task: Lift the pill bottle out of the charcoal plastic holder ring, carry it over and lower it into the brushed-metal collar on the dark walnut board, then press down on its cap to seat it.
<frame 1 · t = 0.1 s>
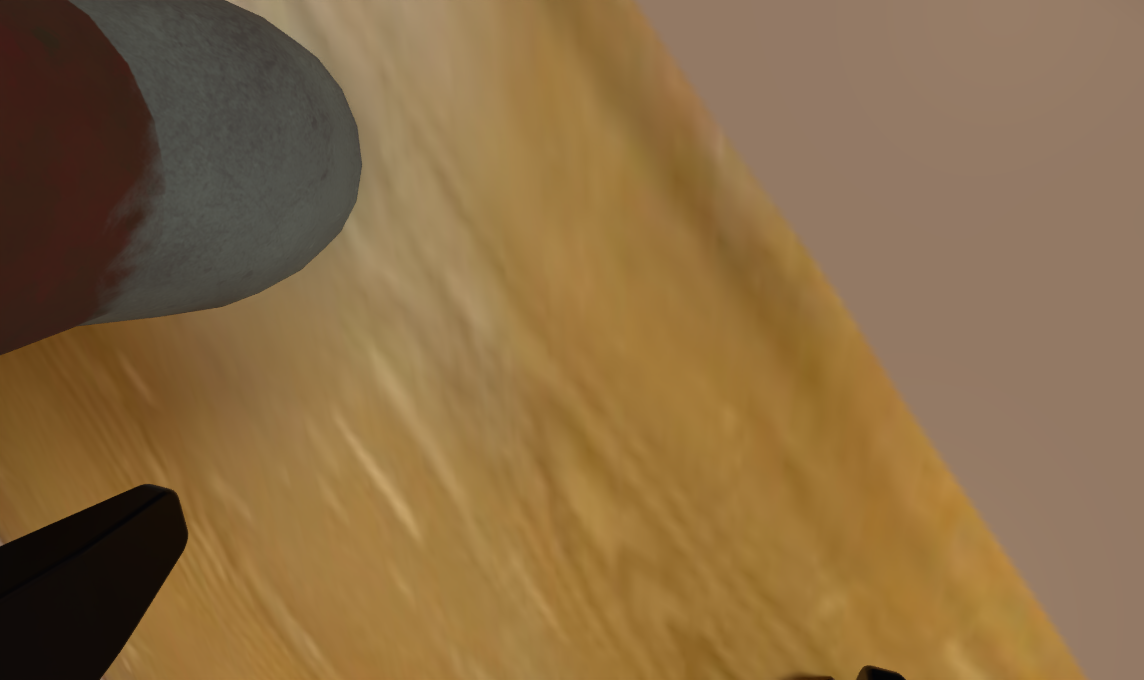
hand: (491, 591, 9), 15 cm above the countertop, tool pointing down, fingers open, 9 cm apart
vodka: (260, 150, 25), on the countertop
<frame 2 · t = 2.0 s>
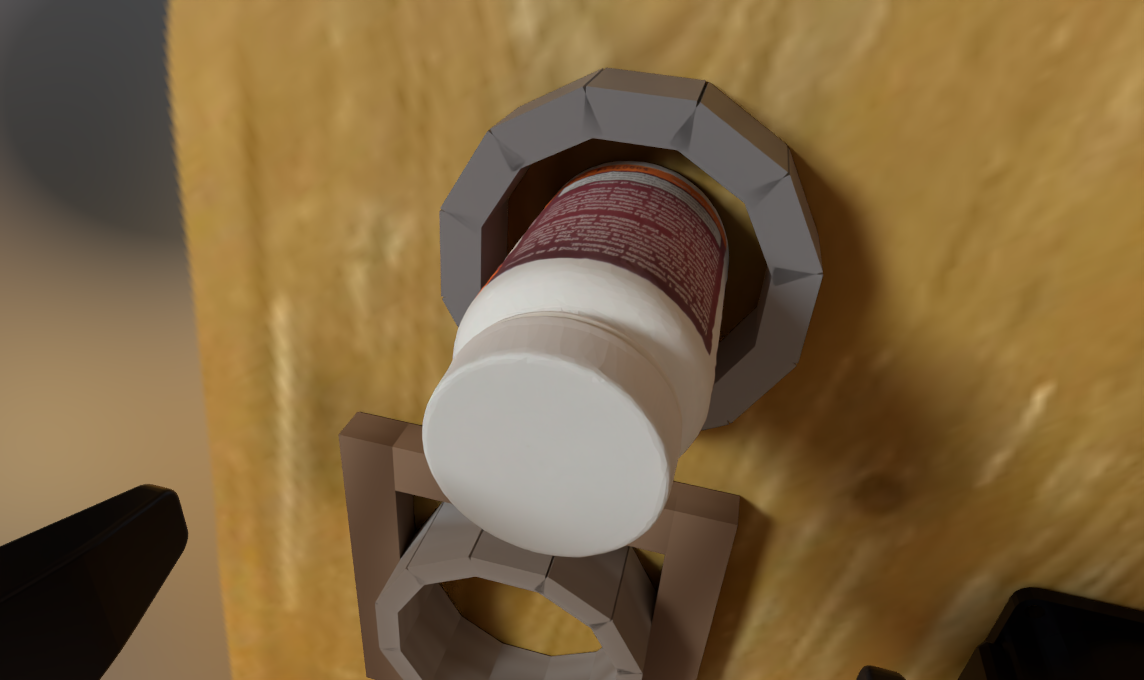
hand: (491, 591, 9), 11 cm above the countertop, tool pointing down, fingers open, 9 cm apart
holder: (632, 251, 18), on the countertop
pill bottle: (634, 248, 18), resting in holder
socket board: (531, 586, 25), on the countertop
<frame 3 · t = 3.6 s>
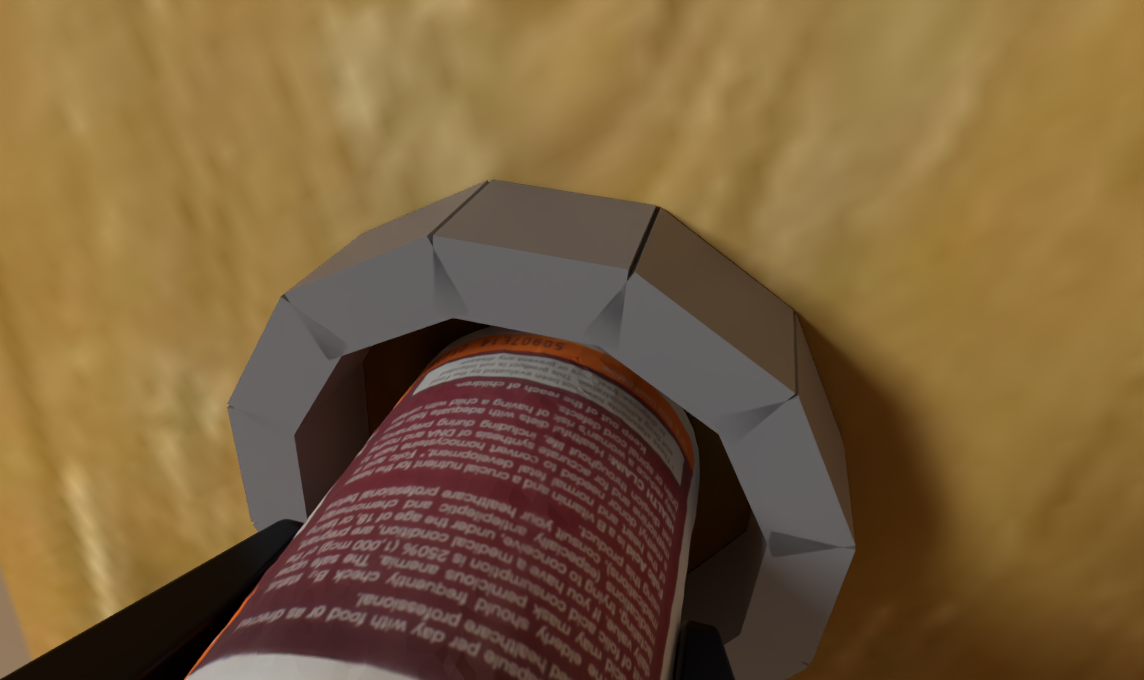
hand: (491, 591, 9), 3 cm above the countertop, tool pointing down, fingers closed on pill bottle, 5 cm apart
holder: (553, 445, 12), on the countertop
pill bottle: (556, 437, 12), resting in holder, touching gripper
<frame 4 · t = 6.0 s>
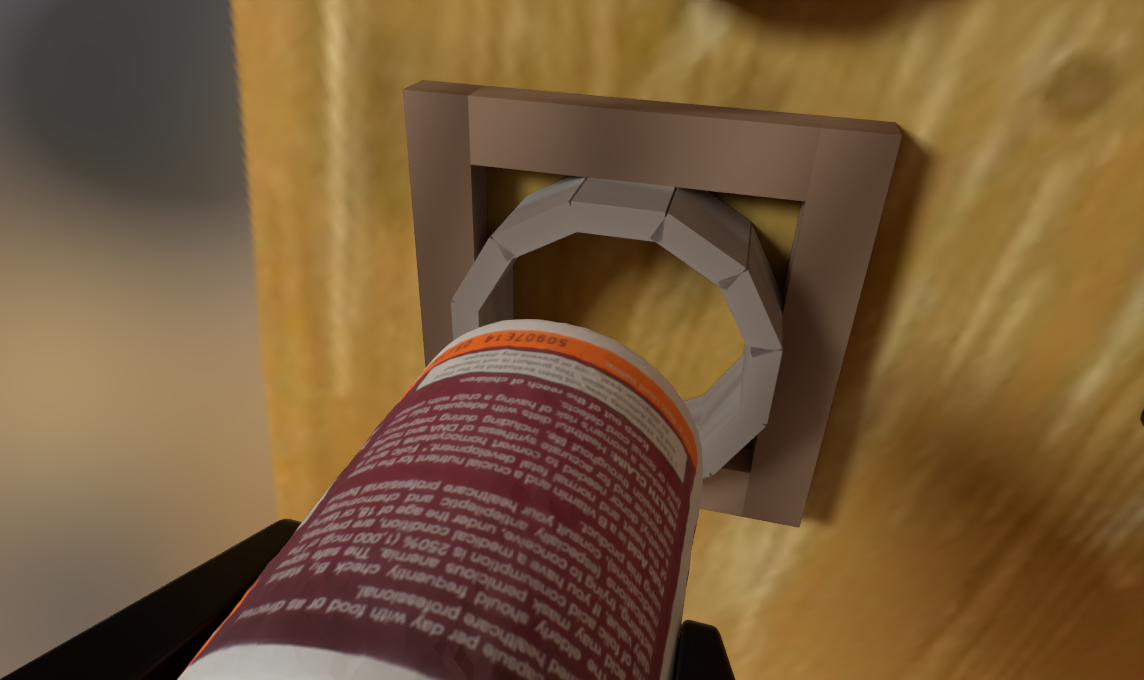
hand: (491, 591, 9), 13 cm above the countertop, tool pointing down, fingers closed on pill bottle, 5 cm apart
pill bottle: (560, 434, 12), point 10 cm above the countertop, touching gripper
socket board: (627, 309, 22), on the countertop
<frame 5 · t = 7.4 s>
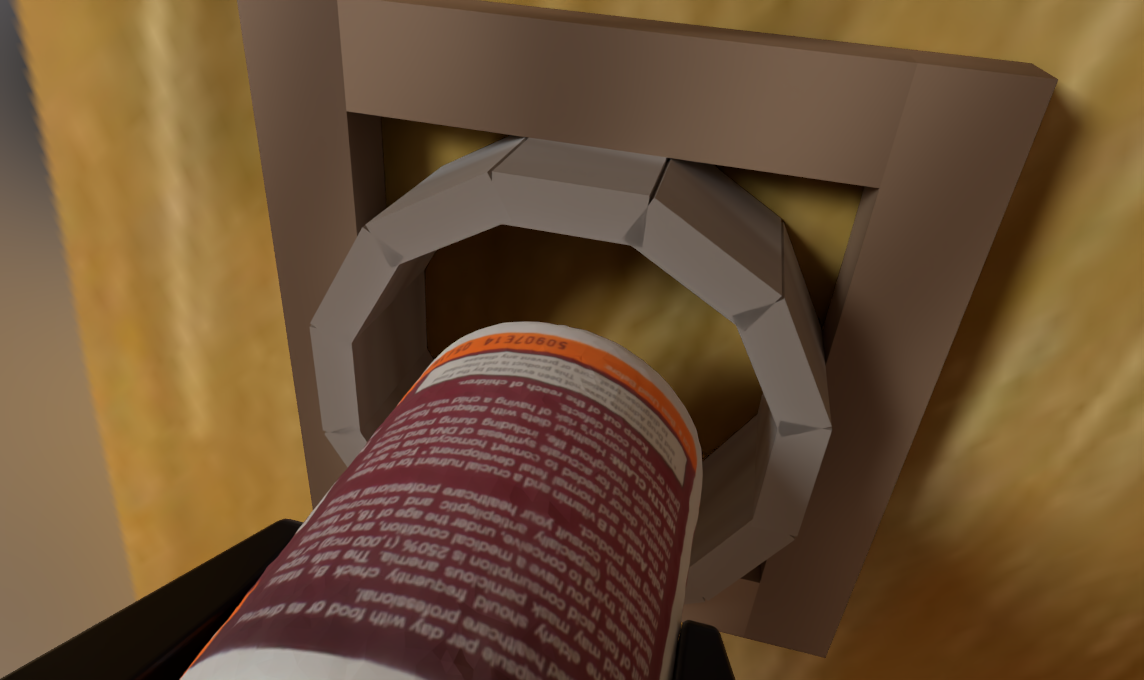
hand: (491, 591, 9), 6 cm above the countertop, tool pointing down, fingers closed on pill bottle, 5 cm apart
pill bottle: (559, 436, 12), point 3 cm above the countertop, touching gripper
socket board: (589, 341, 15), on the countertop
when the fingers open (4 cm above the countertop, at t = 8.7 s): pill bottle stays where it is, resting in socket board.
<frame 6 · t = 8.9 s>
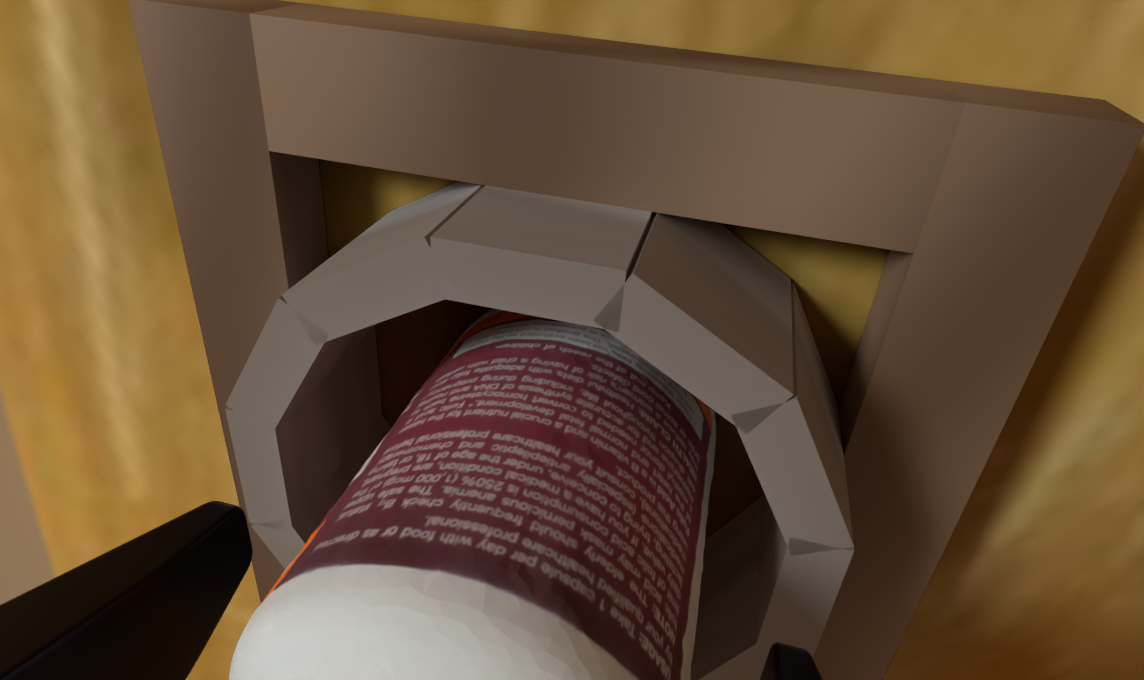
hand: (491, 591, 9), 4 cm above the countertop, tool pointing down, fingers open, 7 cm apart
pill bottle: (580, 404, 13), resting in socket board
socket board: (566, 410, 13), on the countertop
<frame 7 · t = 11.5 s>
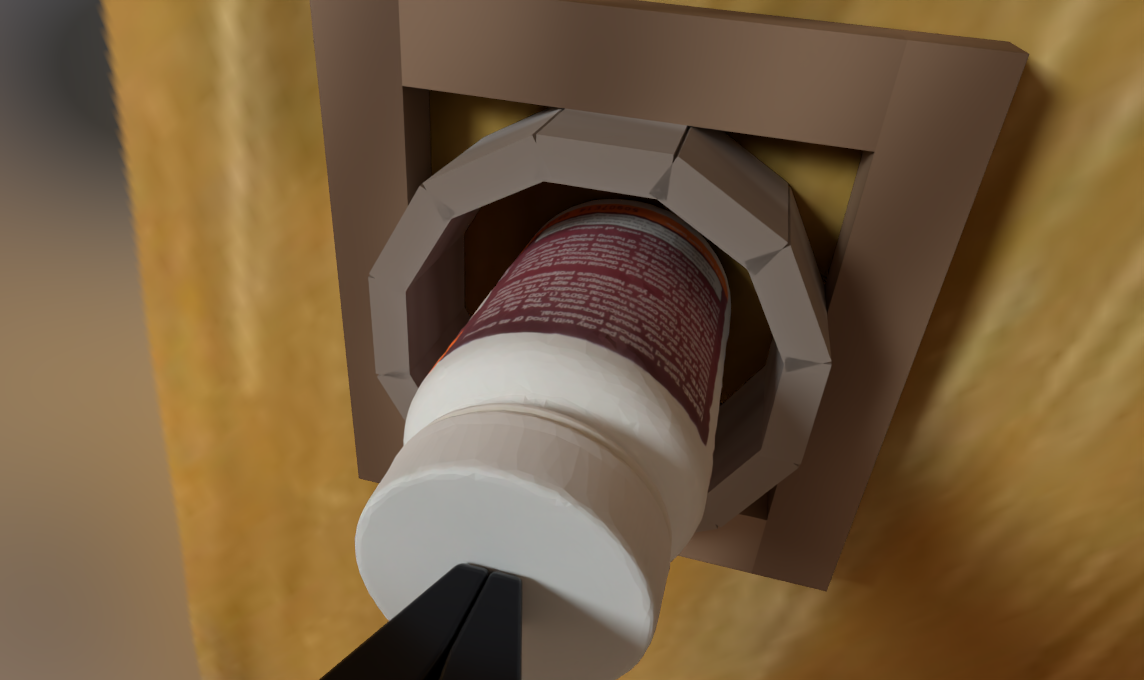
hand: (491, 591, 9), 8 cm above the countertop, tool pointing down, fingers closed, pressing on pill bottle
pill bottle: (624, 293, 16), resting in socket board, touching gripper
socket board: (613, 298, 16), on the countertop
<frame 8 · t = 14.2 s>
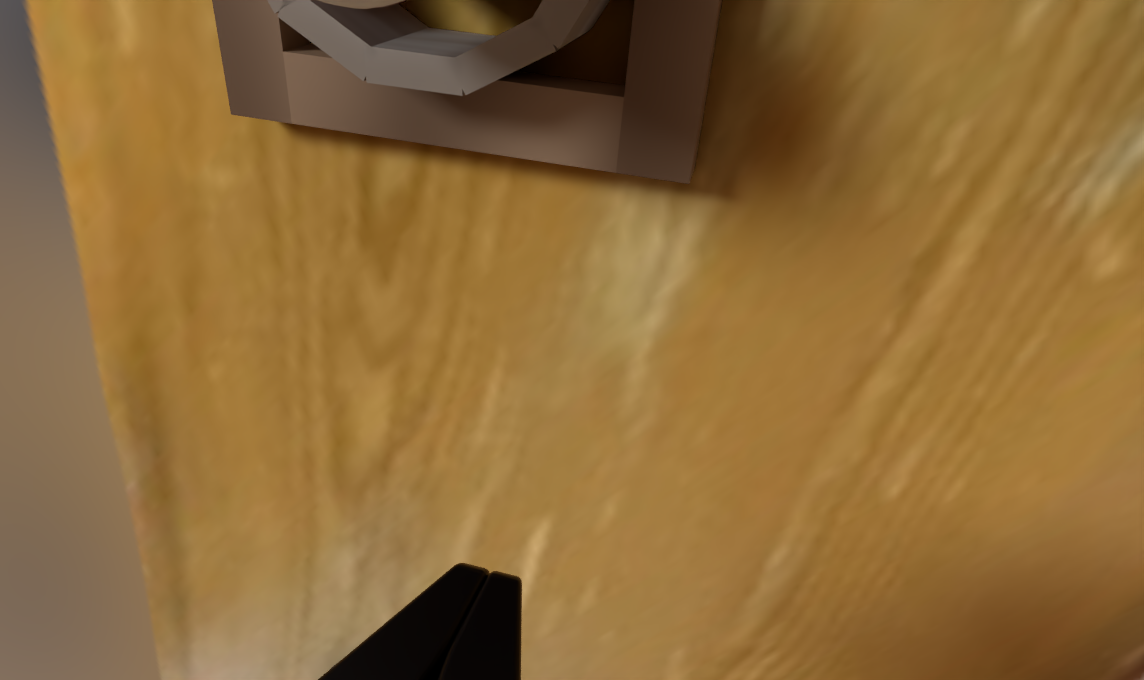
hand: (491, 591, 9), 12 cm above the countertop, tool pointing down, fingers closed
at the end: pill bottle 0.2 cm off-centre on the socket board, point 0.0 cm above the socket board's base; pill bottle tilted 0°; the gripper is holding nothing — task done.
